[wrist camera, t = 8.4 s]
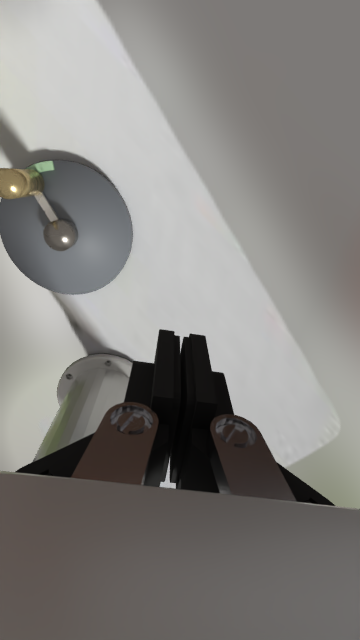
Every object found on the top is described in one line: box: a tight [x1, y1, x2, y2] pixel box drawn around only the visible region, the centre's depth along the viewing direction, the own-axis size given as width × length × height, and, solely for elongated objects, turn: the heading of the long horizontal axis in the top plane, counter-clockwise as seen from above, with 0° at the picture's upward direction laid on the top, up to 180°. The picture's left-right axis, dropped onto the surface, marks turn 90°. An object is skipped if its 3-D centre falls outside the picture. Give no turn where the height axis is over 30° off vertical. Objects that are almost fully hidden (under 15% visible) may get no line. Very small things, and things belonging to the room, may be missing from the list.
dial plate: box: [0, 160, 133, 295], centre depth 36 cm, size 14×14×2 cm
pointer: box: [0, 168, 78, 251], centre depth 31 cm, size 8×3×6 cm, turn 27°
